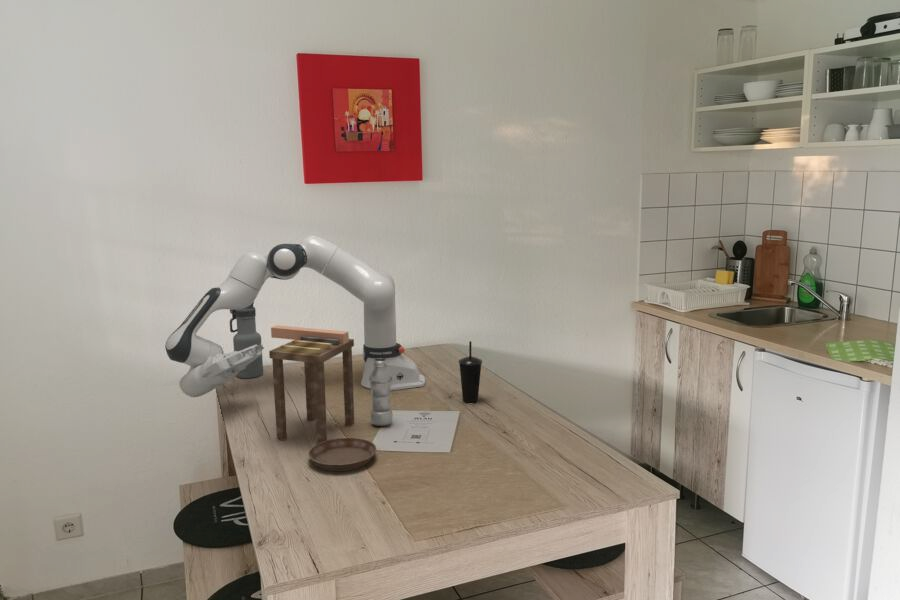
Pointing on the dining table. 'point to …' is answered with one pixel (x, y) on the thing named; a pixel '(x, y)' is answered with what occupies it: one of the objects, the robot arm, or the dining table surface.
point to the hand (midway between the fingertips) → (252, 350)
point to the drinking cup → (470, 377)
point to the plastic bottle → (380, 393)
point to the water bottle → (247, 339)
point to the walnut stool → (312, 380)
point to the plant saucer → (342, 454)
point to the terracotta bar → (307, 333)
